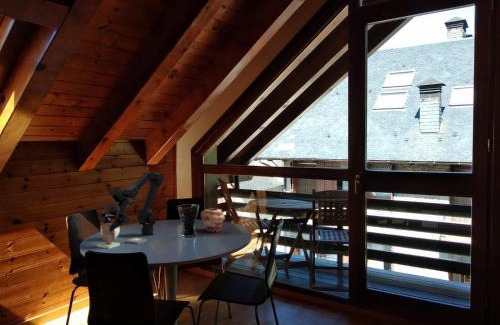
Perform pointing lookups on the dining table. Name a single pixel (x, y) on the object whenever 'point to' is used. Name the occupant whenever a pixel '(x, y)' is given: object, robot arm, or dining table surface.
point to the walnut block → (108, 233)
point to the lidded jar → (115, 231)
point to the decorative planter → (212, 219)
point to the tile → (136, 240)
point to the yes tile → (108, 245)
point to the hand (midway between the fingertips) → (106, 230)
